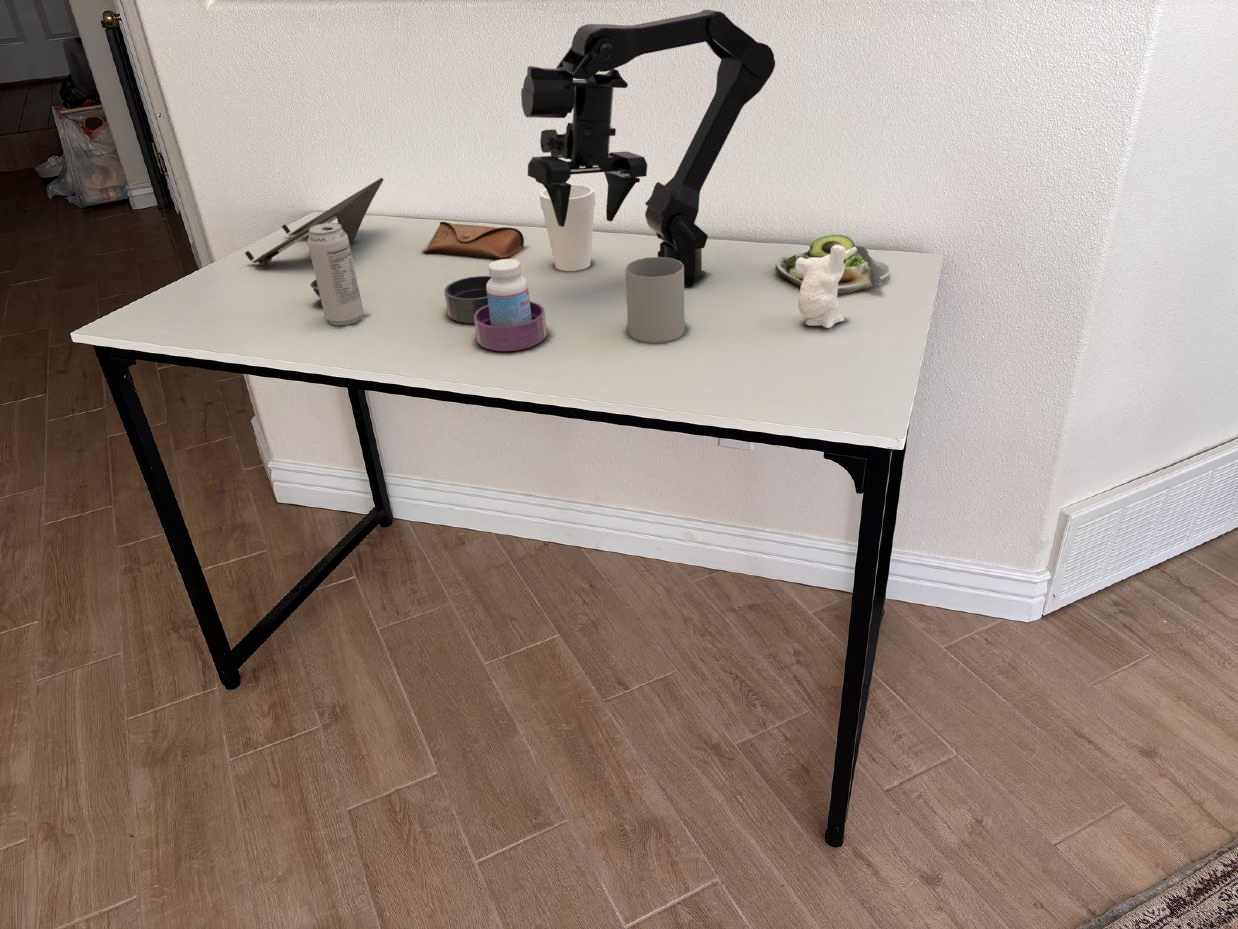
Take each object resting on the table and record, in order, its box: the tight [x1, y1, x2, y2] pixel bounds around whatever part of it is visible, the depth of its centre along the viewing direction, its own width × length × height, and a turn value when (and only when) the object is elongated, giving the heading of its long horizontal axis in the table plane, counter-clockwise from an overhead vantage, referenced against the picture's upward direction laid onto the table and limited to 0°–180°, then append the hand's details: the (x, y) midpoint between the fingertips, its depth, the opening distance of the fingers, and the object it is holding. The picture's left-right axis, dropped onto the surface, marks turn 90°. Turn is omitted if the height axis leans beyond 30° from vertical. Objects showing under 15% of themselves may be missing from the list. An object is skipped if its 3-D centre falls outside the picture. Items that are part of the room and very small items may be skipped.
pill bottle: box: [486, 258, 532, 327], centre depth 136 cm, size 6×6×11 cm
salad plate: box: [775, 234, 891, 295], centre depth 152 cm, size 19×18×5 cm
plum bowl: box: [474, 300, 548, 352], centre depth 138 cm, size 10×10×4 cm
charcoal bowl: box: [444, 275, 492, 324], centre depth 147 cm, size 10×10×4 cm
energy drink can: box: [307, 222, 364, 326], centre depth 145 cm, size 6×6×15 cm
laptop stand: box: [244, 177, 384, 266], centre depth 177 cm, size 23×23×9 cm
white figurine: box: [795, 245, 857, 329], centre depth 135 cm, size 8×7×12 cm
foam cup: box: [539, 183, 596, 272], centre depth 161 cm, size 10×9×13 cm
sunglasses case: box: [422, 221, 525, 259], centre depth 174 cm, size 18×7×7 cm
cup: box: [624, 256, 686, 344], centre depth 136 cm, size 8×8×10 cm
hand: (585, 223), depth 145 cm, fingers open, 9 cm apart
